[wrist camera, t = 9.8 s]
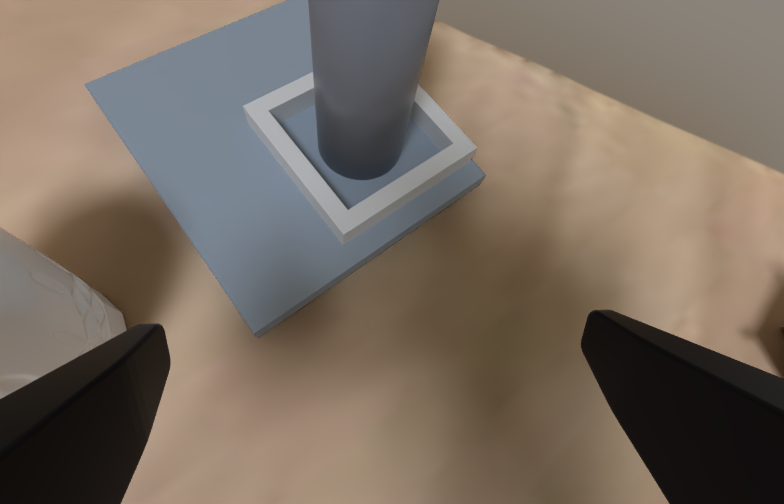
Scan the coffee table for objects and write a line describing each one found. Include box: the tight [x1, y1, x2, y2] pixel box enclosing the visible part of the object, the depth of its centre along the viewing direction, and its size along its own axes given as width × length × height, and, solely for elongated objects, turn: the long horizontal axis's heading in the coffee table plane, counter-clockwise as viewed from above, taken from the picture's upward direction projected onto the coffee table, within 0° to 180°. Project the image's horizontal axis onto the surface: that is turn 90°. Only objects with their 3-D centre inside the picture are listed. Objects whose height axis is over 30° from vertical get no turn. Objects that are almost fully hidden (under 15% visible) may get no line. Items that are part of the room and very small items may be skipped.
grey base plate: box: [84, 0, 486, 338], centre depth 25 cm, size 18×16×3 cm
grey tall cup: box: [308, 0, 439, 180], centre depth 19 cm, size 5×5×13 cm
